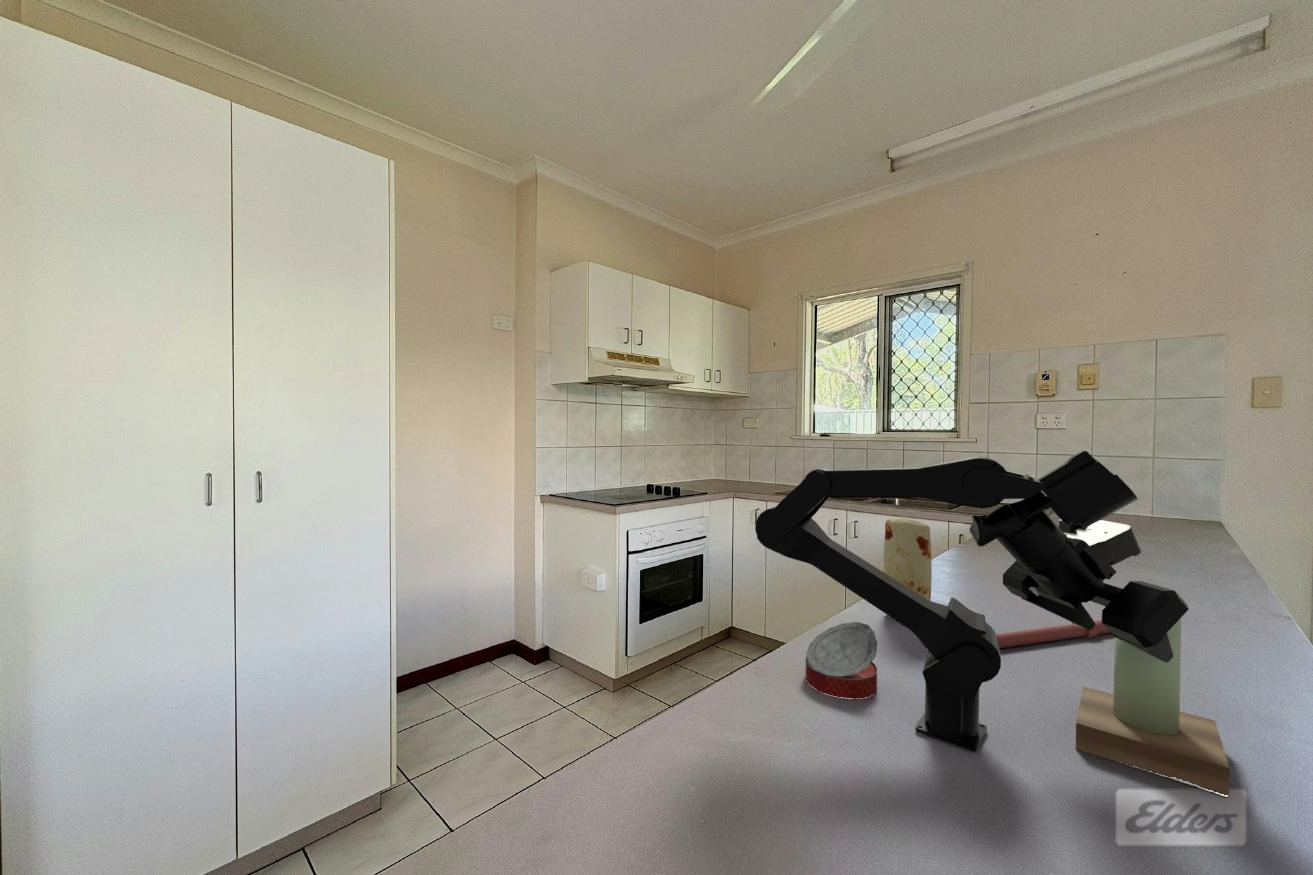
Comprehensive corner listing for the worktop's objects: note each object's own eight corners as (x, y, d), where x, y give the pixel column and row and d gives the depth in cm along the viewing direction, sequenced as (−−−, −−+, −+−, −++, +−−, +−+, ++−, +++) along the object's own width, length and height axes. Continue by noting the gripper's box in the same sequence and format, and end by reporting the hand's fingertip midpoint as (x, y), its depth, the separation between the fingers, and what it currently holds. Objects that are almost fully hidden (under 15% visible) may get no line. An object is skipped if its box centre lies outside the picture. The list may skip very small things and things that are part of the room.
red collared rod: (1138, 625, 102) (1138, 609, 102) (1157, 631, 99) (1157, 615, 99) (955, 651, 89) (955, 632, 89) (971, 659, 86) (971, 639, 86)
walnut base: (1229, 797, 52) (1229, 768, 52) (1075, 748, 60) (1076, 722, 60) (1214, 745, 61) (1214, 720, 61) (1082, 709, 69) (1082, 686, 69)
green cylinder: (1181, 741, 57) (1183, 622, 57) (1112, 722, 61) (1114, 610, 61) (1177, 721, 61) (1179, 609, 61) (1113, 703, 65) (1115, 599, 65)
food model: (874, 615, 105) (875, 515, 105) (896, 610, 108) (897, 513, 108) (918, 632, 96) (920, 523, 96) (941, 626, 99) (943, 520, 99)
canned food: (876, 729, 73) (892, 682, 68) (801, 712, 74) (812, 666, 70) (867, 661, 82) (881, 616, 77) (801, 648, 84) (810, 603, 79)
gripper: (1173, 509, 51) (1273, 621, 52) (1025, 489, 70) (1101, 571, 71) (1095, 590, 51) (1198, 702, 52) (967, 548, 69) (1044, 630, 70)
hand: (1127, 642), depth 61 cm, fingers open, 9 cm apart
